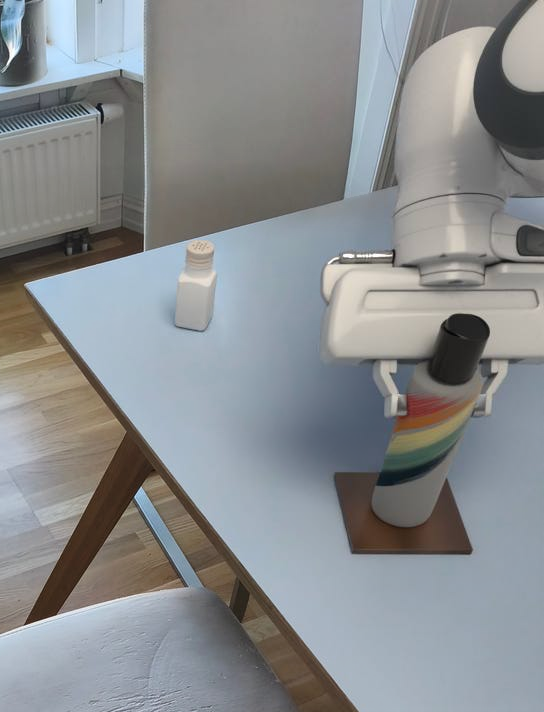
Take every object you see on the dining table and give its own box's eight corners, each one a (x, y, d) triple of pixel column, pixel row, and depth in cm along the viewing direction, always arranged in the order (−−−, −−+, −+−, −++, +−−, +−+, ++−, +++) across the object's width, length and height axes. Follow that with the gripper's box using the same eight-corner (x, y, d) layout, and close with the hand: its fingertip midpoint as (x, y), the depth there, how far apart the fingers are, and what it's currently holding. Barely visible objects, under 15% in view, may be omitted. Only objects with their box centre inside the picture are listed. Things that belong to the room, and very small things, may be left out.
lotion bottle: (383, 481, 88) (445, 295, 72) (439, 502, 86) (515, 316, 70) (360, 514, 85) (419, 328, 69) (417, 537, 83) (491, 351, 67)
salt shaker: (172, 327, 107) (178, 251, 100) (182, 310, 109) (188, 235, 102) (204, 333, 106) (212, 257, 99) (213, 316, 108) (222, 240, 101)
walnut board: (443, 476, 89) (445, 471, 88) (471, 554, 82) (473, 550, 82) (333, 476, 89) (334, 471, 89) (351, 554, 82) (353, 549, 82)
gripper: (331, 238, 72) (325, 411, 73) (587, 236, 71) (575, 411, 72) (312, 263, 78) (307, 422, 79) (547, 261, 77) (537, 422, 79)
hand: (437, 417), depth 76 cm, fingers closed on lotion bottle, 6 cm apart
